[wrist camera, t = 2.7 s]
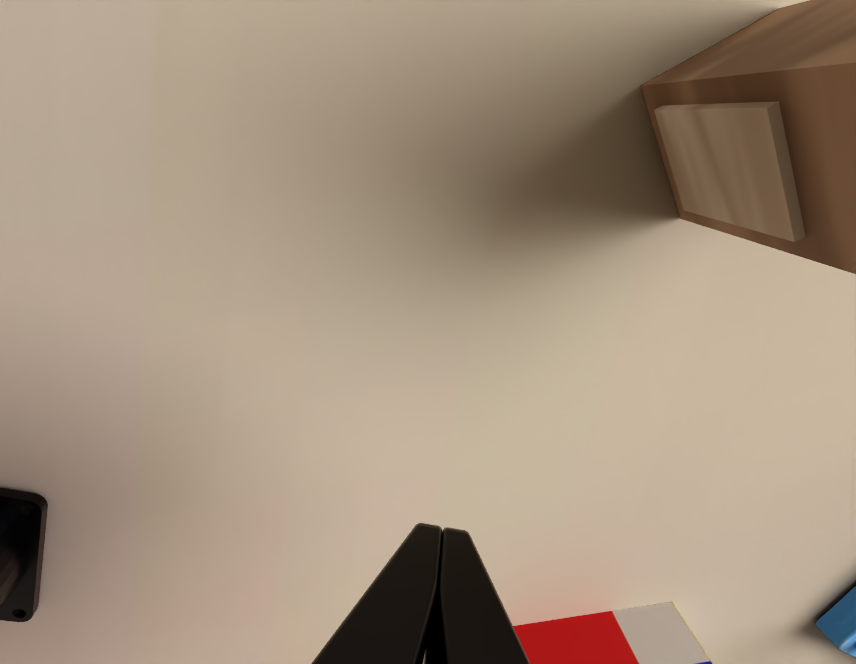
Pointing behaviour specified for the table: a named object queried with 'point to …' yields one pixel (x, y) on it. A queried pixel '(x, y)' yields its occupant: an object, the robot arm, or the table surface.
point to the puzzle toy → (614, 638)
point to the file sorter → (841, 623)
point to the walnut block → (768, 132)
